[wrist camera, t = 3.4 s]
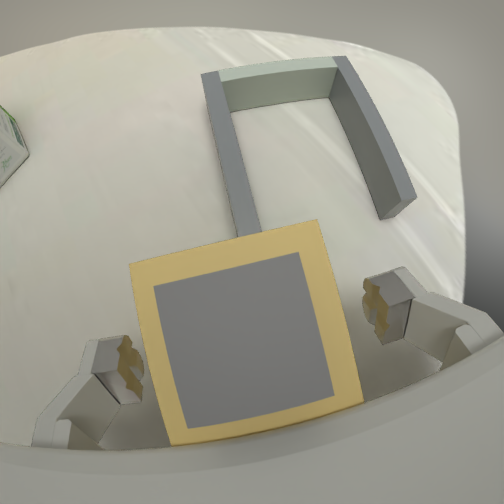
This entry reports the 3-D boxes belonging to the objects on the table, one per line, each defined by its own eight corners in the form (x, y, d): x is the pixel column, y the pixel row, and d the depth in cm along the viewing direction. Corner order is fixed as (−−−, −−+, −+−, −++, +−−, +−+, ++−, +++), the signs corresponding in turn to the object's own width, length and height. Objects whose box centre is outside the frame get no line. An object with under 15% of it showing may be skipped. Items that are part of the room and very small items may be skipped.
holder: (241, 252, 17) (238, 237, 14) (207, 105, 19) (200, 74, 16) (394, 216, 17) (417, 197, 14) (336, 85, 19) (346, 56, 16)
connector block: (221, 377, 15) (157, 473, 4) (202, 301, 16) (104, 250, 5) (298, 359, 15) (388, 421, 4) (279, 283, 16) (329, 196, 5)
